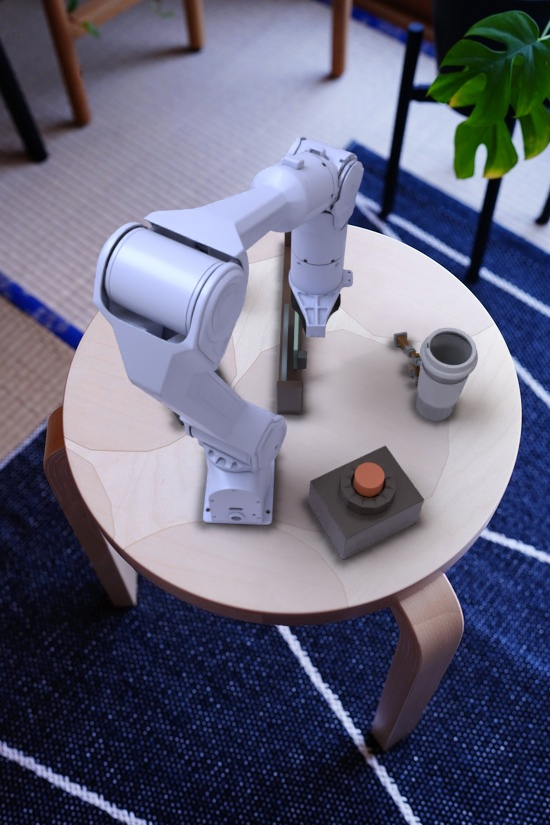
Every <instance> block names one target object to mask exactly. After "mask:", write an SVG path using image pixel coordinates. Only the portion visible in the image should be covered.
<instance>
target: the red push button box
mask: <svg viewBox="0 0 550 825" xmlns="http://www.w3.org/2000/svg"><path fill="white" fill-rule="evenodd" d="M368 462H370V463H375V464H377V465H379V466H380V467H381V468H382V470H383V471H384V475H385V478H384V483H383V487H382V490H381V491H380V493H379V494H377V495H375V496H373V497H365V496H362V495H360V494H359V493H358V492H357V491H356V490H355V488H354V485H353V482H354V475H355V471H356V469H357V467H358V466H360V465H361V464H363V463H368ZM424 502H425V499H424V497H423V496H422V495H421V493H420V491H419V490H418V488H417V487H416V486H415V485H414V483H413V482H412V480H411V479H410V477H409V476H408V475H407V473H406V471H404V468H402V466H401V465H400V464H399V462H398V461H397V459H396V458H395V456H394V455H393V453H392V452H391V451H390V449H389V448H388V446H387V445H384V446H383V445H382V446H381V447H379V448H377V449H375V450H373V451H371V452H369V453H366V454H364V455H362V456H360V457H358V458H356V459H353V460H352V461H349V462H347V463H345V464H343V465H341V466H338V467H337V468H334V469H333V470H330V471H328V472H326V473H324V474H322V475H320V476H317V477H315V478H313V479H311V480H310V481H309V491H308V506H309V508H310V509H311V511H312V513H313V514H314V516H315V518H316V519H317V520H318V522H319V524H320V525H321V527H322V528H323V530H324V532H325V533H326V535H327V537H328V538H329V540H330V541H331V543H332V545H333V547H334V548H335V550H336V552H337V553H338V555H339V556H340V558H341V559H342V560H343V561H344V560H346V559H347V558H350V557H352V556H353V555H355V554H357V553H359V552H362V551H363V550H366V549H368V548H369V547H371V546H373V545H375V544H377V543H379V542H381V541H383V540H386V539H387V538H389V537H391V536H393V535H395V534H397V533H398V532H401V531H403V530H406V529H407V528H409V527H411V526H412V525H414V524H417V523H418V520H419V517H420V514H421V511H422V509H423V505H424Z"/></svg>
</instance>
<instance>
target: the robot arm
mask: <svg viewBox="0 0 550 825" xmlns="http://www.w3.org/2000/svg"><path fill="white" fill-rule="evenodd" d="M364 171H365V168H364V167H363V162H361V161H358V157H357V155H356V153H353V152H351V151H347V150H345V149H342V148H339V147H336V146H335V145H332V144H328V143H326V142H322V141H320V140H317V139H314V138H311V137H310V138H307V137H305V136H298V137H297V138H295V140H294V141H293V143H292V144H291V145H290V147H289V149H288V150H287V152H286V153H285V154H283V156H282V158H281V159H280V161H278V162H276V163H274V164H271V165H270V166H268V167H266V168H263V169H262V170H260V171H259V172H258V173H257V174H256V175H255V176H254V178H253V179H252V181H251V183H250V186H249V189H248V190H245V191H243V192H240V193H237V194H234V195H231V196H228V197H225V198H222V199H220V200H217V201H213V202H211V203H208V204H204V205H202V206H199V207H195V208H183V209H170V210H168V209H167V210H155V211H152V212H150V213H149V214H148V215H146V216H145V217H143V220H145V221H147V222H148V223H149V224H150V226H151V227H150V228H149V227H148V226H146V225H144V224H143V223H140V222H136V221H131V222H127V223H125V224H123V225H121V226H120V227H119V228H117V229H116V230H115V231H114V232H113V233H112V234H111V235H110V236H109V237H108V239H107V240H106V241H105V243H104V245H103V247H102V248H101V250H100V253H99V255H98V258H97V262H96V268H95V277H94V278H95V279H94V287H93V295H92V304H93V306H94V307H95V308H96V309H97V310H98V311H99V313H100V314H101V315H102V317H104V319H105V320H106V321H107V322H108V323H109V325H110V326H111V328H112V330H113V331H112V332H113V333H114V337H115V340H116V344H117V346H118V351H119V354H120V356H121V360H122V364H123V367H124V370H125V373H126V377H127V379H128V380H129V381H130V383H131V385H133V386H135V387H136V388H138V389H139V390H141V391H142V392H144V393H145V394H146V395H148V396H150V397H151V398H153V399H154V400H156V401H157V402H159V403H160V404H162V405H163V406H164V407H166V408H168V409H169V410H171V411H172V412H173V413H174V412H175V413H177V414H178V415H180V420H181V421H183V422H184V424H183V425H184V431H185V434H186V435H187V436H188V437H190V438H191V439H197V443H198V445H199V446H200V447H201V448H203V450H204V454H205V459H206V460H205V461H206V467H207V474H206V483H205V484H206V485H205V494H204V503H203V512H202V513H203V515H202V519H203V520H202V521H203V522H204V523H206V524H229V525H230V524H231V525H232V524H234V525H260V526H263V525H264V526H269V525H271V524H272V522H273V510H274V485H275V467H276V466H275V464H276V457H277V456H278V454H279V452H280V451H281V449H282V446H283V445H284V442H285V439H286V435H287V432H288V425H287V421H286V418H285V417H284V416H283V415H282V414H277V413H274V412H272V411H269V410H267V409H265V408H263V407H261V406H259V405H256V404H255V403H252V402H250V401H248V400H246V399H244V398H242V396H240V395H239V394H238V393H237V392H236V390H234V389H233V388H232V387H231V386H230V384H229V385H228V383H227V382H225V380H224V379H223V380H224V381H223V380H222V379H221V378H220V377H219V376H218V375H217V374H216V373H215V372H214V371H215V370H217V369H218V370H219V367H220V364H221V361H222V360H223V358H224V356H225V354H226V352H227V348H228V346H229V343H230V341H231V338H232V335H233V332H234V329H235V327H236V325H237V322H238V320H239V318H240V316H241V313H242V312H243V308H244V305H245V301H246V297H247V288H248V283H249V277H250V276H249V275H250V263H249V256H248V253H247V251H248V250H250V248H252V247H253V246H254V245H256V243H258V242H259V241H260V240H261V239H262V238H264V237H265V236H267V234H269V232H274V233H279V234H284V233H286V232H290V231H292V235H291V269H290V271H289V284H290V287H291V301H290V302H291V306H292V309H293V310H295V311H296V312H297V313H298V315H299V317H300V319H301V323H302V327H303V333H304V334H305V336H306V338H316V339H317V338H323V339H324V338H326V328H327V324H328V321H329V319H330V318H331V316H333V315H334V314H335V313H336V312H338V311H339V309H340V308H341V304H342V295H341V294H342V293H341V292H342V290H343V289H344V288H351V287H352V286H353V283H354V272H353V270H351V269H345V268H344V266H345V256H346V247H347V246H346V245H347V237H348V236H347V234H348V224H349V219H350V218H351V216H352V215H353V213H354V208H355V207H356V201H357V200H356V199H357V195H358V192H359V189H360V187H361V184H362V181H363V176H364ZM208 510H209V511H208ZM267 512H269V513H267Z"/></svg>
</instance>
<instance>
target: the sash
mask: <svg viewBox="0 0 550 825" xmlns="http://www.w3.org/2000/svg"><path fill="white" fill-rule="evenodd" d="M298 324H299V315H298V313H297V312H296V311H295V328H294V362H293V369H302V370H304V371H305V370H307V369H308V368H307V366H308V351H307V350H302V351H298Z"/></svg>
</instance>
